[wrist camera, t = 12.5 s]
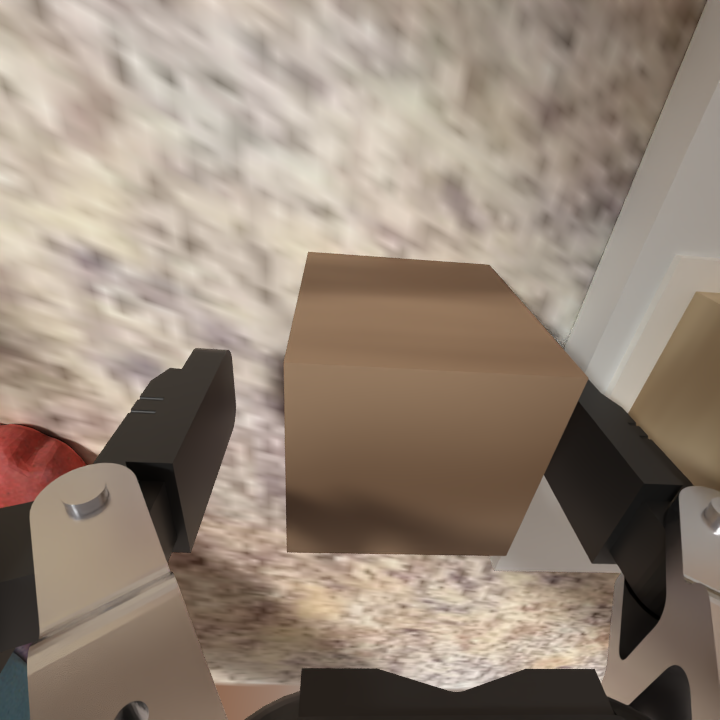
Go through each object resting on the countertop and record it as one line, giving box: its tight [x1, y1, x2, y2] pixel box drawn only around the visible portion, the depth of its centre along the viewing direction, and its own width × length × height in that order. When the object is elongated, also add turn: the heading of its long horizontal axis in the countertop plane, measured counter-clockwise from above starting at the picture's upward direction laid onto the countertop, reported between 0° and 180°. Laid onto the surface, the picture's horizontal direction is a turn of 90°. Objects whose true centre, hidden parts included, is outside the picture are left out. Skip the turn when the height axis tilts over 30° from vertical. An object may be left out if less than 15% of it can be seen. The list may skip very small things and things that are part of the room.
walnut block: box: [284, 252, 588, 556], centre depth 9 cm, size 4×4×5 cm
